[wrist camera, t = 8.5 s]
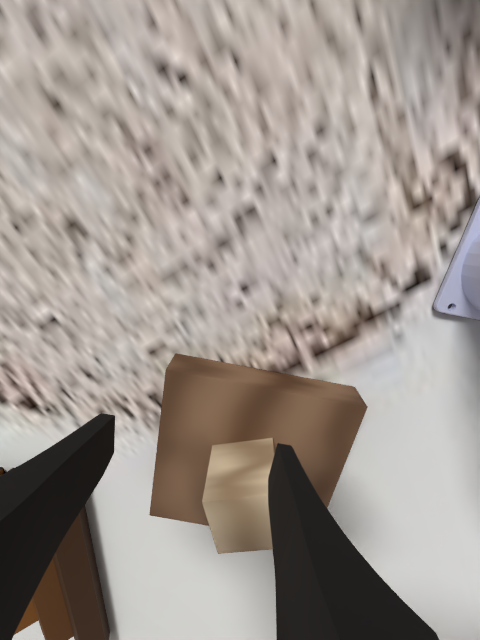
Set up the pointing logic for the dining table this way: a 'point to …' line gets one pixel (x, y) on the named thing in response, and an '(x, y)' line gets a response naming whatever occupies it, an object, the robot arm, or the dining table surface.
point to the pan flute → (70, 590)
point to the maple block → (239, 495)
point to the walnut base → (246, 427)
